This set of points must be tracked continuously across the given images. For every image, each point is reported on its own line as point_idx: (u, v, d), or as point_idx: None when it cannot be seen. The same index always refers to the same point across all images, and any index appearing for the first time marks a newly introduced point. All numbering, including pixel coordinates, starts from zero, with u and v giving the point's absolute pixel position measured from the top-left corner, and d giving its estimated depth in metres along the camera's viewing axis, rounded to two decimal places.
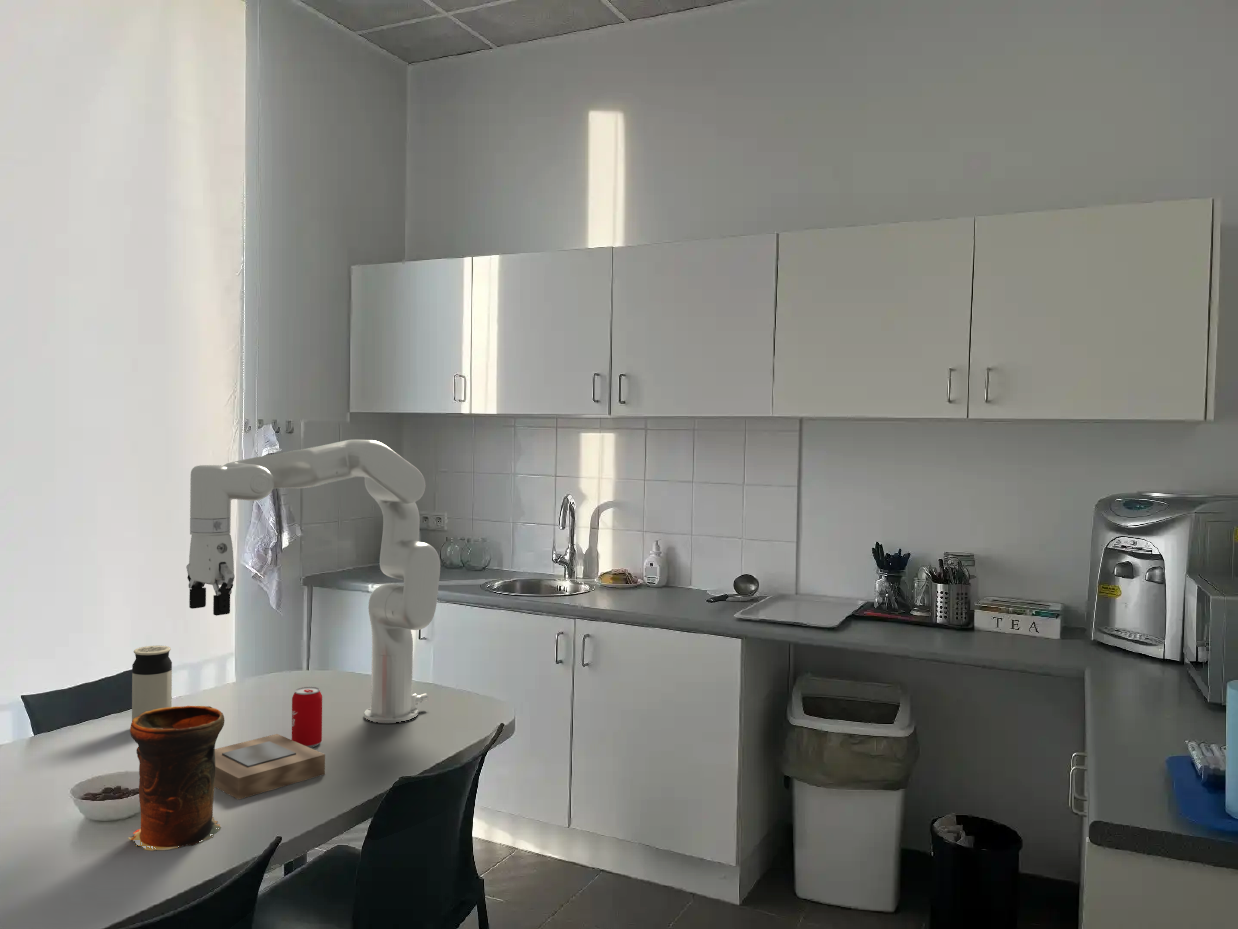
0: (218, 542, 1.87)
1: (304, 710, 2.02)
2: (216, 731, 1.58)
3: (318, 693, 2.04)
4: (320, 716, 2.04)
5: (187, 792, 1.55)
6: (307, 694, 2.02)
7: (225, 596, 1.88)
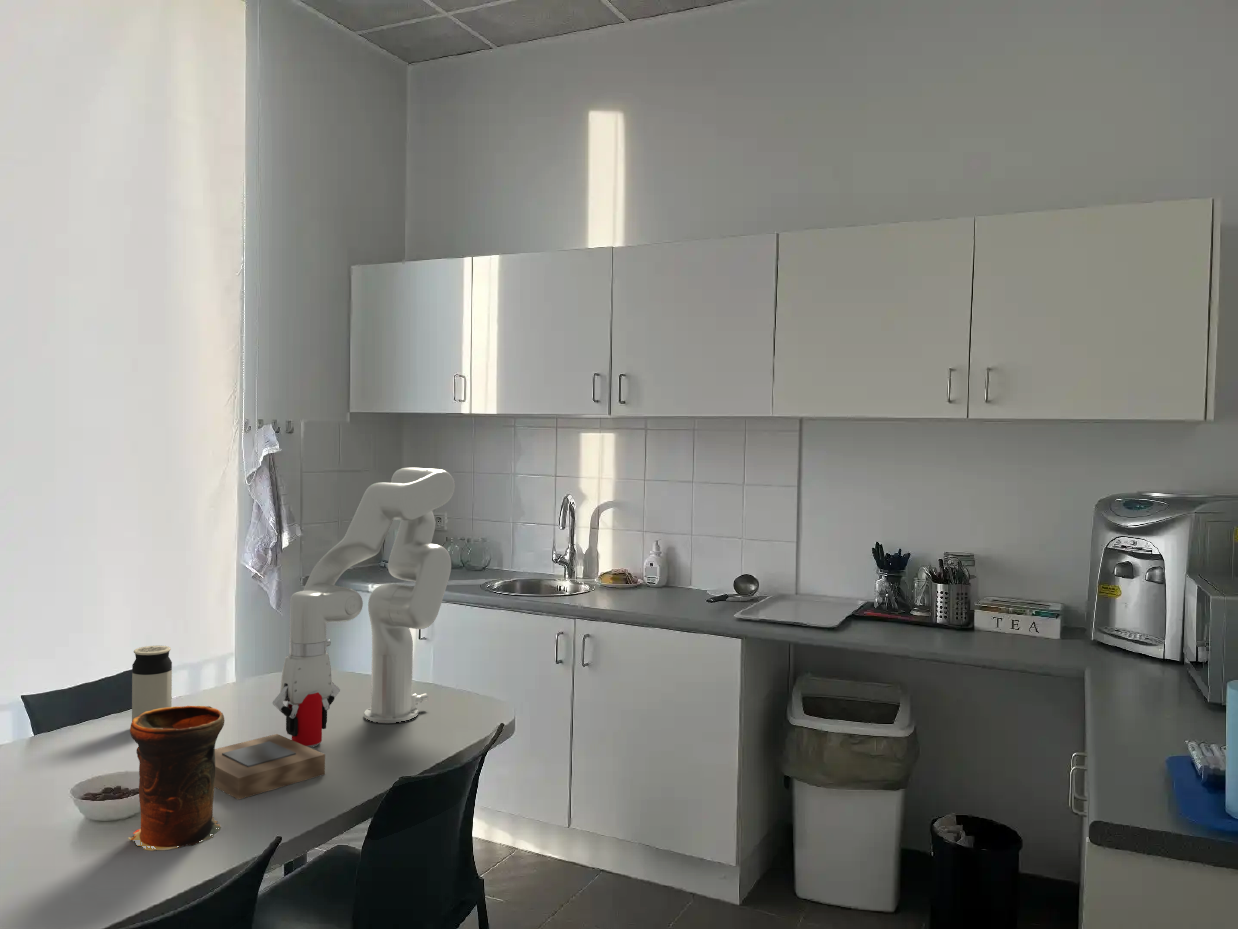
0: None
1: (304, 710, 2.02)
2: (216, 731, 1.58)
3: (318, 693, 2.04)
4: (320, 716, 2.04)
5: (187, 792, 1.55)
6: None
7: None
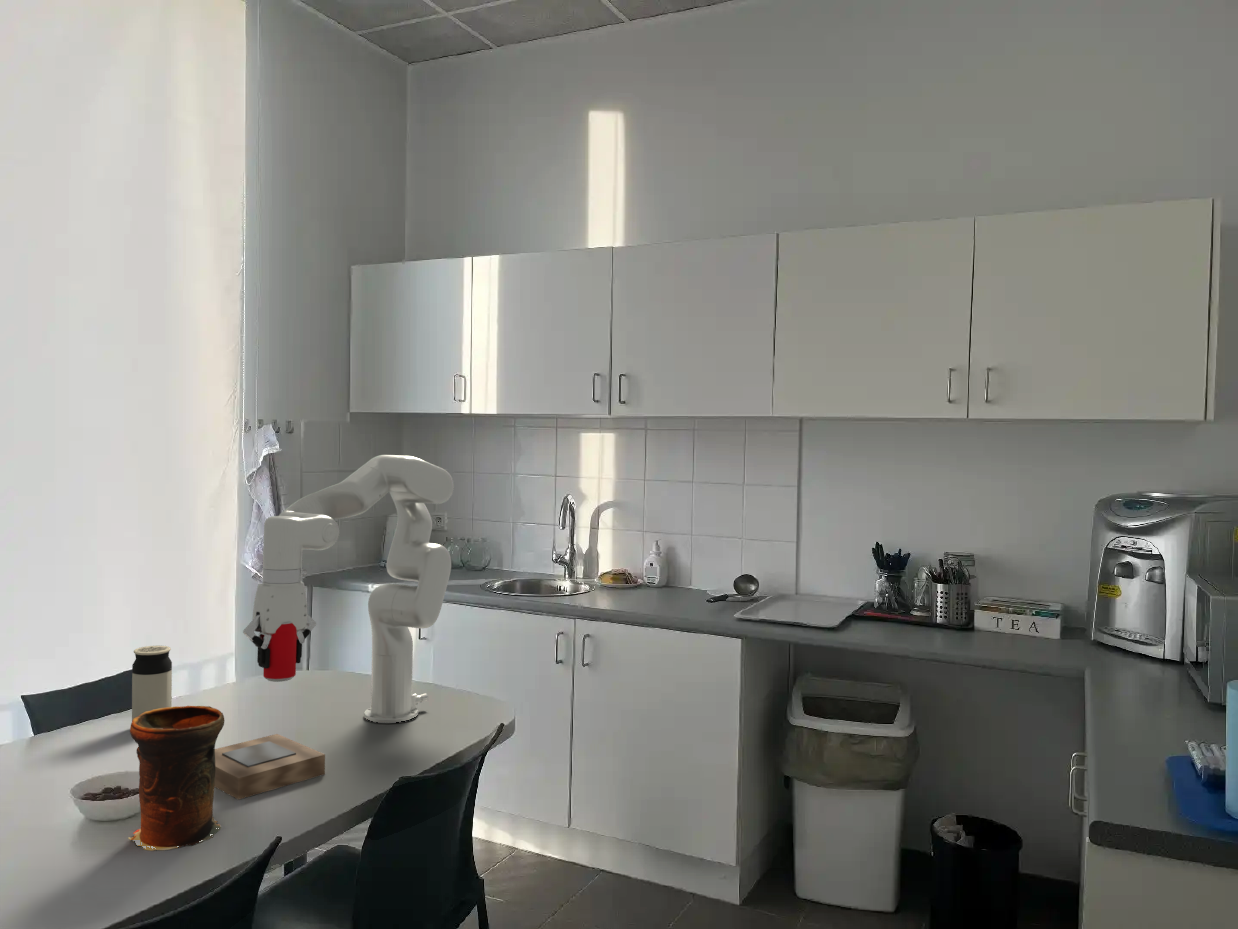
0: None
1: (277, 641, 1.90)
2: (216, 731, 1.58)
3: (292, 624, 1.93)
4: (294, 648, 1.93)
5: (187, 792, 1.55)
6: None
7: None
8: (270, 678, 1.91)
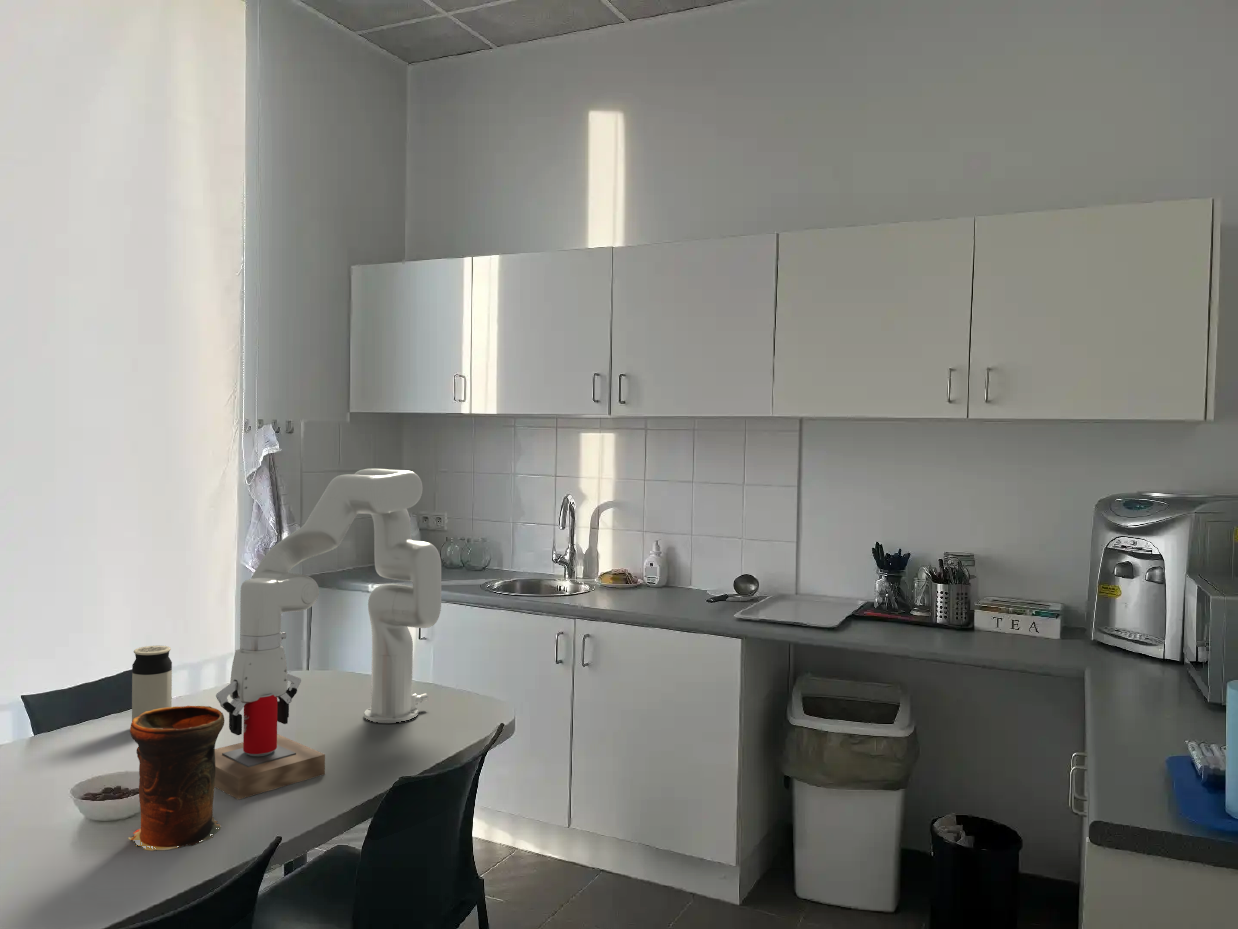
0: None
1: (257, 715, 1.84)
2: (216, 731, 1.58)
3: (273, 696, 1.86)
4: (275, 721, 1.86)
5: (187, 792, 1.55)
6: (260, 697, 1.84)
7: None
8: (250, 753, 1.84)
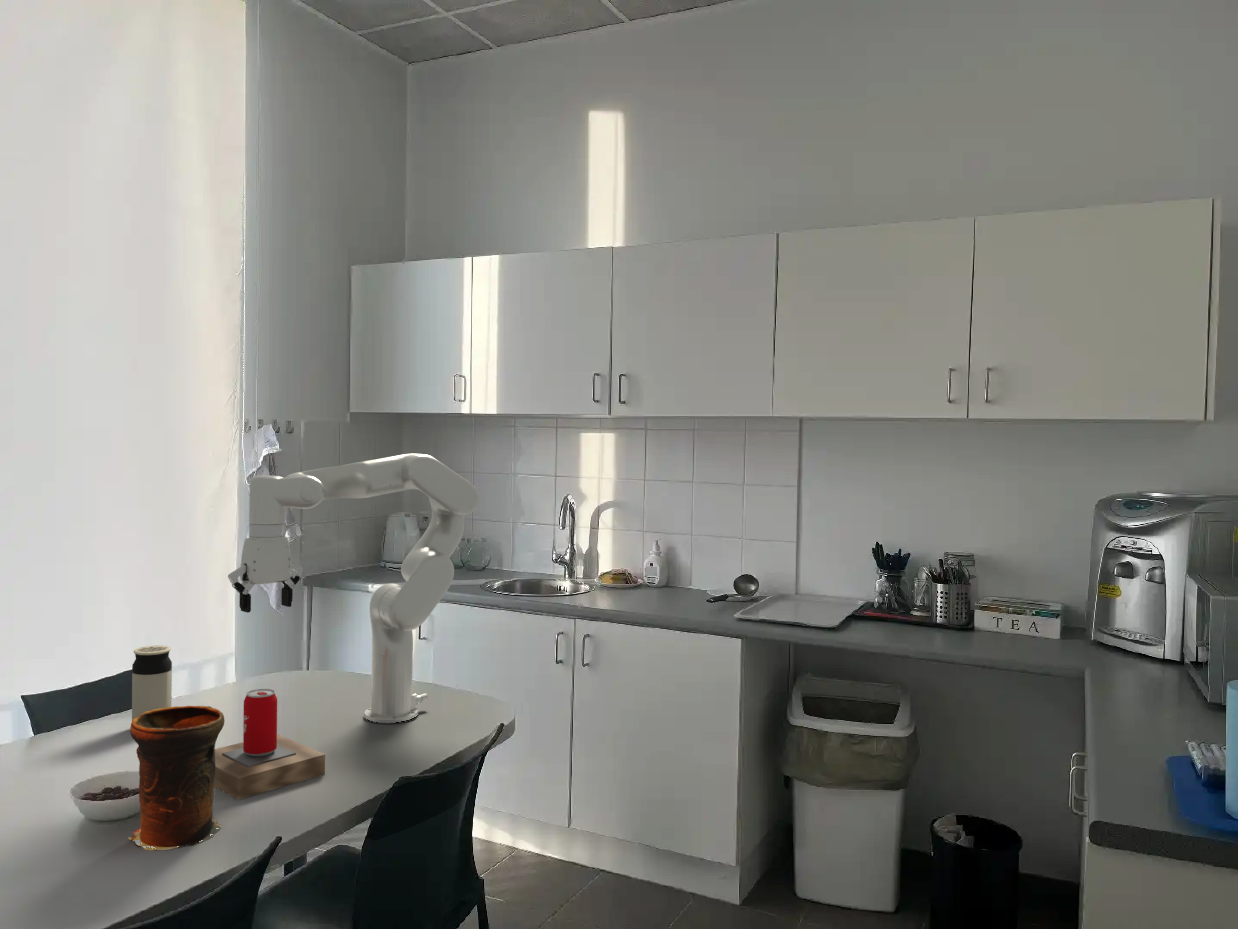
0: None
1: (256, 715, 1.84)
2: (216, 731, 1.58)
3: (272, 696, 1.86)
4: (275, 721, 1.86)
5: (187, 792, 1.55)
6: (260, 697, 1.84)
7: None
8: (250, 753, 1.84)
